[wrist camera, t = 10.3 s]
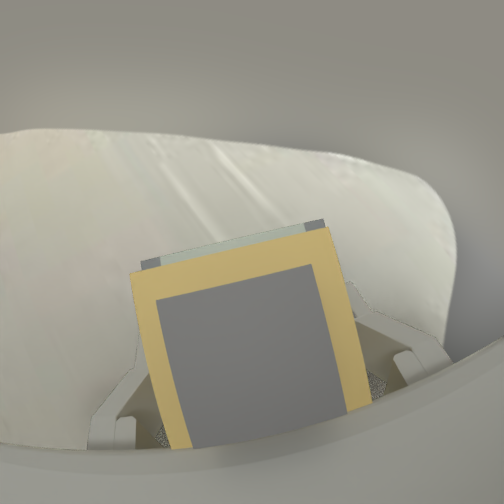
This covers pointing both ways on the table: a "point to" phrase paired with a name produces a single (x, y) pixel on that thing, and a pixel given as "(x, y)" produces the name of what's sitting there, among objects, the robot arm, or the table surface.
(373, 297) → the table surface
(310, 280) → the block
